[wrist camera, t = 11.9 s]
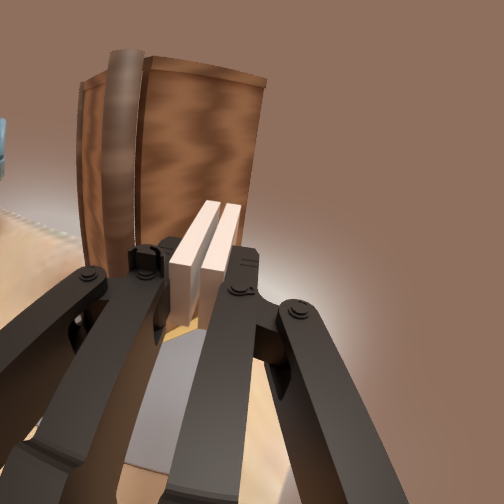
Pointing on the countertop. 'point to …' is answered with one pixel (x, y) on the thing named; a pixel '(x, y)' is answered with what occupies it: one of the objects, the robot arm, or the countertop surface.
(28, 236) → the countertop surface
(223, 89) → the brown wooden board
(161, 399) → the card
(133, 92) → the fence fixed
